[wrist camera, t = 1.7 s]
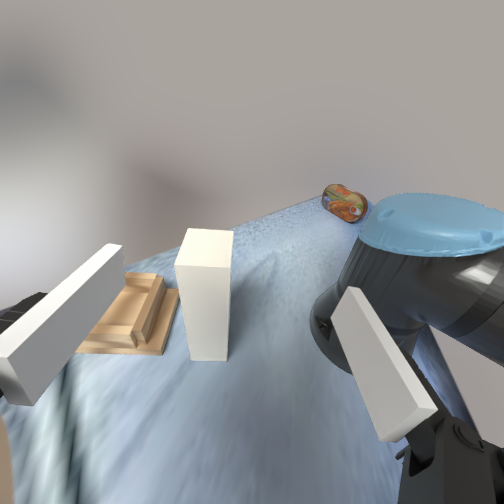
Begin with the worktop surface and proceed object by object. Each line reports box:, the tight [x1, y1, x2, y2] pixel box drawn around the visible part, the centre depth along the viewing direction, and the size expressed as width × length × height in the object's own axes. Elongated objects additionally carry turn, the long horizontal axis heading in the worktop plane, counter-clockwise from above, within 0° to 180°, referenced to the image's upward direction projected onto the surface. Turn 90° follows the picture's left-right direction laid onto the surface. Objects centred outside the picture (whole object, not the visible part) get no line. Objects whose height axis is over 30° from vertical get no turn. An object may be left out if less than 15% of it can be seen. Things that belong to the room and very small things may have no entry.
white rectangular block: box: [174, 228, 234, 362], centre depth 28 cm, size 5×6×18 cm
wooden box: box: [74, 272, 180, 355], centre depth 34 cm, size 14×11×5 cm
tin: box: [322, 184, 368, 222], centre depth 67 cm, size 15×3×8 cm, turn 30°
